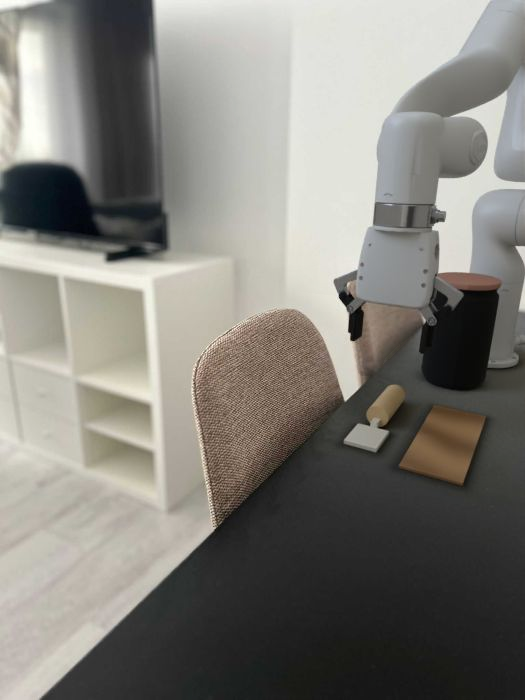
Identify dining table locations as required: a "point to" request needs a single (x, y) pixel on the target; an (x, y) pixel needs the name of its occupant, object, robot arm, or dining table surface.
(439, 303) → the coffee jar
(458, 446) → the wooden board
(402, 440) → the dining table surface
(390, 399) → the spatula
